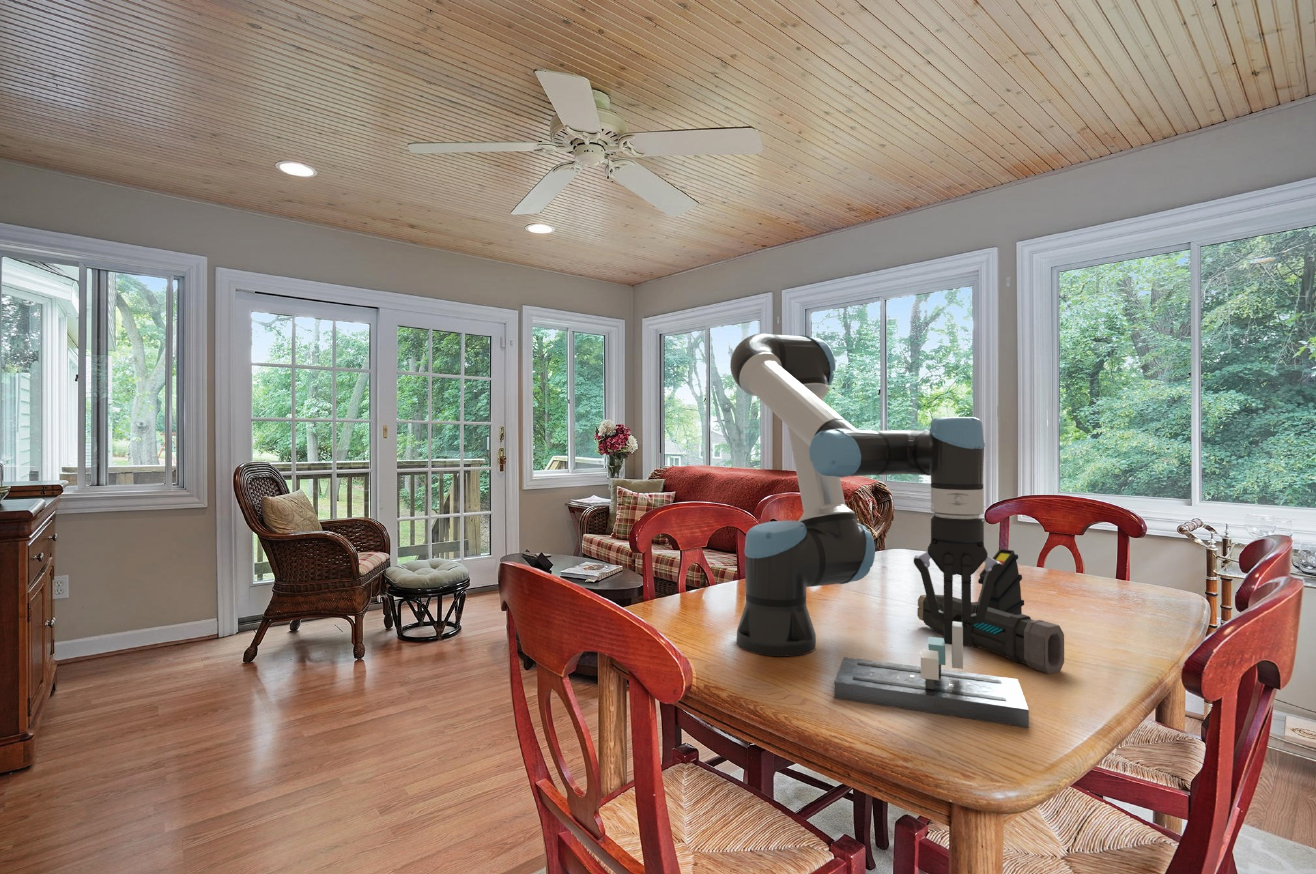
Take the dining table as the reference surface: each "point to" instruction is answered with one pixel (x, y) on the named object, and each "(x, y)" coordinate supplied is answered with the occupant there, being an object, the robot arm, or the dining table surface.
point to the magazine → (1006, 584)
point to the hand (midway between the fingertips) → (957, 665)
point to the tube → (1007, 635)
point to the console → (933, 691)
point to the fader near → (929, 667)
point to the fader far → (938, 649)
